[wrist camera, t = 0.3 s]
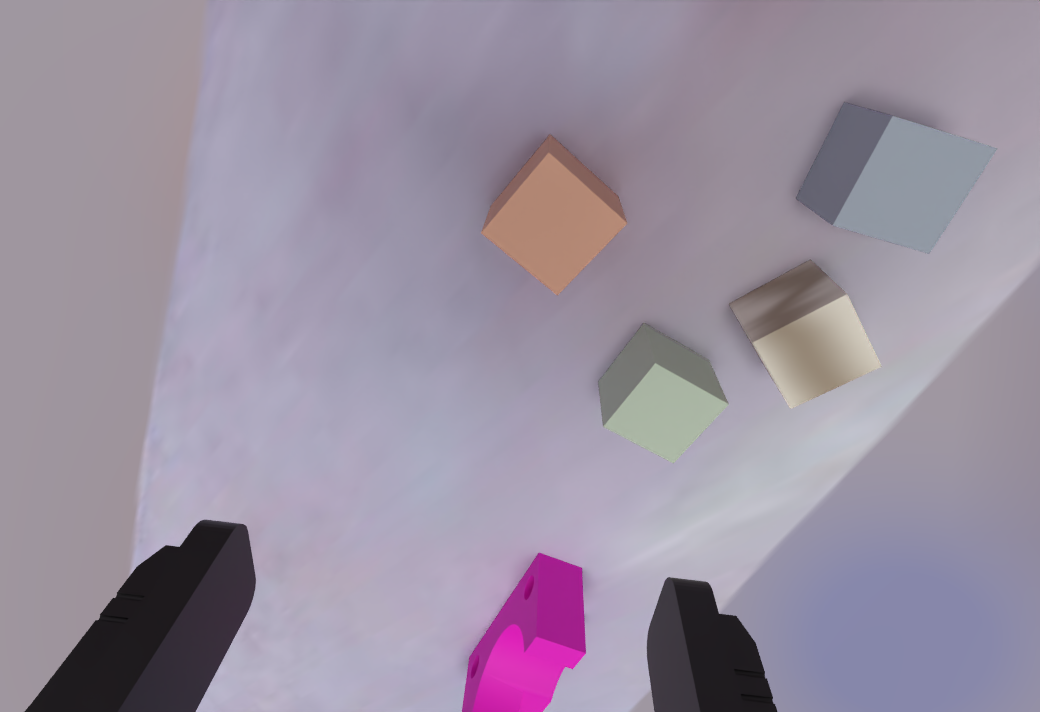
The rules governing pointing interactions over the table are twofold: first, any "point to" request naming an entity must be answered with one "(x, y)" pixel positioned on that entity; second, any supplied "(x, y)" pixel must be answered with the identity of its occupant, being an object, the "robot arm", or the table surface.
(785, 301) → the cube cream
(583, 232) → the cube terracotta
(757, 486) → the table surface
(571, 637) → the toy block
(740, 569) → the table surface
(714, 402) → the cube sage
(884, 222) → the cube slate
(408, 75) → the table surface
